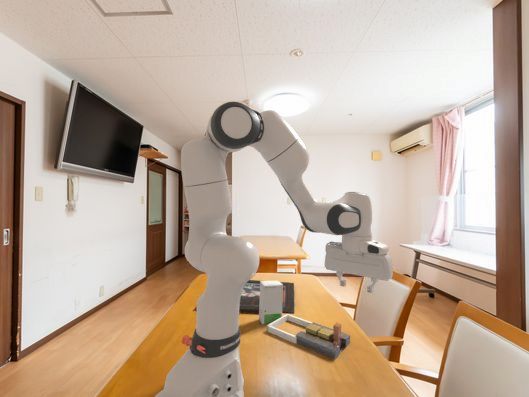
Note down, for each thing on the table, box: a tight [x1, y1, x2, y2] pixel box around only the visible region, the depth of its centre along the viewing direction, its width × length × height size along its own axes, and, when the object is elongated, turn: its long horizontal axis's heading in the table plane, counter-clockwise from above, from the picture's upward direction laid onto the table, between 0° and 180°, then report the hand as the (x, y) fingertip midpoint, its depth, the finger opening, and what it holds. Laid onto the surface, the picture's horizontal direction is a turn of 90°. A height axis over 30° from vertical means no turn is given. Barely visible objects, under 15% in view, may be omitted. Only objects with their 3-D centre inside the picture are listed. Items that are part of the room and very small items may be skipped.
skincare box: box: [258, 280, 283, 325], centre depth 102 cm, size 8×7×16 cm
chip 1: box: [305, 322, 322, 337], centre depth 87 cm, size 4×4×4 cm
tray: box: [266, 313, 313, 344], centre depth 93 cm, size 13×12×3 cm
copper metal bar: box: [332, 322, 342, 347], centre depth 82 cm, size 4×2×7 cm, turn 141°
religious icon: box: [195, 279, 295, 315], centre depth 129 cm, size 40×45×3 cm
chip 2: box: [318, 328, 333, 343], centre depth 84 cm, size 4×4×4 cm
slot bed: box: [295, 321, 351, 360], centre depth 85 cm, size 12×14×4 cm
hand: (356, 288), depth 78 cm, fingers open, 7 cm apart
